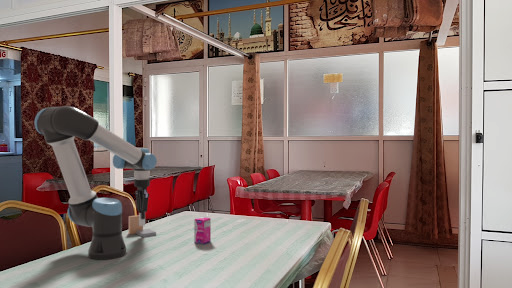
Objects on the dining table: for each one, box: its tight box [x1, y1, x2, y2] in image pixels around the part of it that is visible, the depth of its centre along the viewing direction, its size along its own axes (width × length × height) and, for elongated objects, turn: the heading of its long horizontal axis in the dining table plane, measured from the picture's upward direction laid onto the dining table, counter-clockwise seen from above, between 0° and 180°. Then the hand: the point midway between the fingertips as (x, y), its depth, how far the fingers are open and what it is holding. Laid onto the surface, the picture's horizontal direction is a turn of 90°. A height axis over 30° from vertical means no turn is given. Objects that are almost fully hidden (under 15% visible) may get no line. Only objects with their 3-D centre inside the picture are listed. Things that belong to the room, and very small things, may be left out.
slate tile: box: [136, 228, 157, 238], centre depth 203 cm, size 7×2×9 cm
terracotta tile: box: [128, 214, 144, 235], centre depth 207 cm, size 7×2×9 cm, turn 128°
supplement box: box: [193, 216, 212, 245], centre depth 188 cm, size 6×6×12 cm
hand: (142, 225), depth 200 cm, fingers closed
